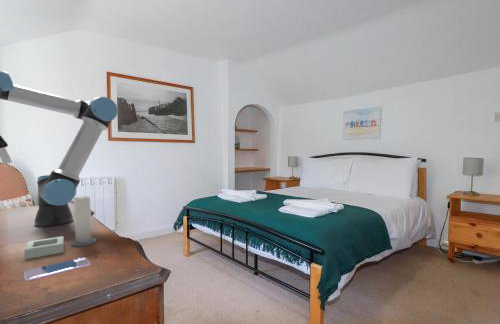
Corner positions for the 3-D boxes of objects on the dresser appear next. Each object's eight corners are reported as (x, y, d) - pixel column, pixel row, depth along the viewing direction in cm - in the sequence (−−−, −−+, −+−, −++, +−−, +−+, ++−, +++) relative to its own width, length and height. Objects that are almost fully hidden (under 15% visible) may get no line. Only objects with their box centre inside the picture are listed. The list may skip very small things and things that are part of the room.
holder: (28, 250, 93) (28, 241, 93) (63, 244, 99) (63, 236, 99) (24, 259, 85) (24, 249, 85) (63, 252, 91) (63, 243, 91)
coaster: (80, 239, 104) (80, 237, 104) (100, 239, 104) (100, 237, 104) (65, 246, 96) (65, 244, 96) (88, 246, 96) (87, 244, 96)
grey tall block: (81, 238, 102) (79, 196, 102) (94, 238, 102) (92, 196, 102) (72, 243, 97) (70, 199, 97) (86, 243, 97) (84, 198, 97)
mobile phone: (23, 270, 76) (85, 255, 86) (23, 273, 76) (85, 258, 86) (24, 279, 70) (90, 262, 80) (25, 282, 70) (91, 266, 80)
